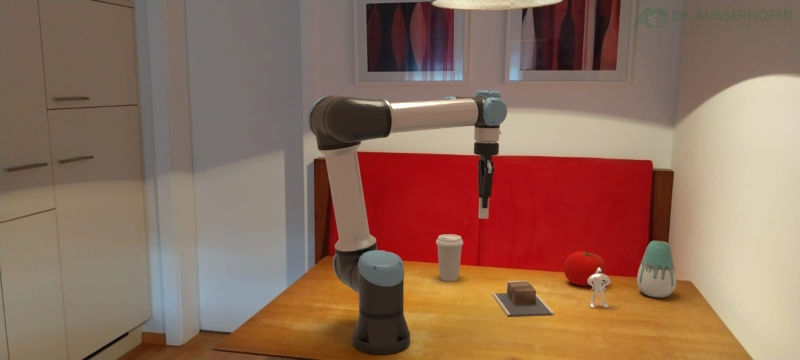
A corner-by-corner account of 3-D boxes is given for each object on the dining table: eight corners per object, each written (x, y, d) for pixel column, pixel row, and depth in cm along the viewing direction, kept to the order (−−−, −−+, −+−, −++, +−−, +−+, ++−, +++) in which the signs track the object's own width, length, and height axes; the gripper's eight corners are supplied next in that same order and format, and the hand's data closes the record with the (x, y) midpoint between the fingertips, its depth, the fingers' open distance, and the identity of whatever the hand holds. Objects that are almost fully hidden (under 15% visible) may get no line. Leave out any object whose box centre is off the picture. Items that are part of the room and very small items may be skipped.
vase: (650, 286, 199) (654, 234, 196) (682, 296, 190) (686, 242, 187) (628, 292, 193) (632, 239, 190) (660, 303, 183) (664, 247, 181)
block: (536, 290, 180) (527, 280, 189) (515, 290, 179) (507, 281, 188) (535, 304, 181) (526, 294, 190) (514, 305, 180) (506, 294, 189)
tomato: (560, 277, 208) (561, 246, 206) (600, 278, 207) (602, 247, 205) (566, 289, 196) (568, 256, 194) (609, 290, 195) (611, 257, 193)
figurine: (588, 308, 179) (590, 270, 177) (583, 303, 183) (585, 266, 181) (611, 308, 179) (613, 270, 178) (606, 303, 184) (608, 265, 182)
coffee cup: (430, 276, 209) (430, 235, 207) (452, 272, 213) (453, 232, 211) (444, 284, 201) (445, 241, 198) (468, 280, 205) (468, 238, 203)
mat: (554, 314, 174) (554, 312, 174) (507, 316, 173) (507, 314, 172) (534, 293, 192) (534, 291, 191) (492, 295, 190) (492, 293, 190)
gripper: (504, 143, 173) (500, 222, 176) (493, 140, 185) (490, 213, 189) (478, 143, 172) (475, 222, 175) (470, 139, 185) (467, 213, 188)
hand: (483, 217), depth 182 cm, fingers closed
